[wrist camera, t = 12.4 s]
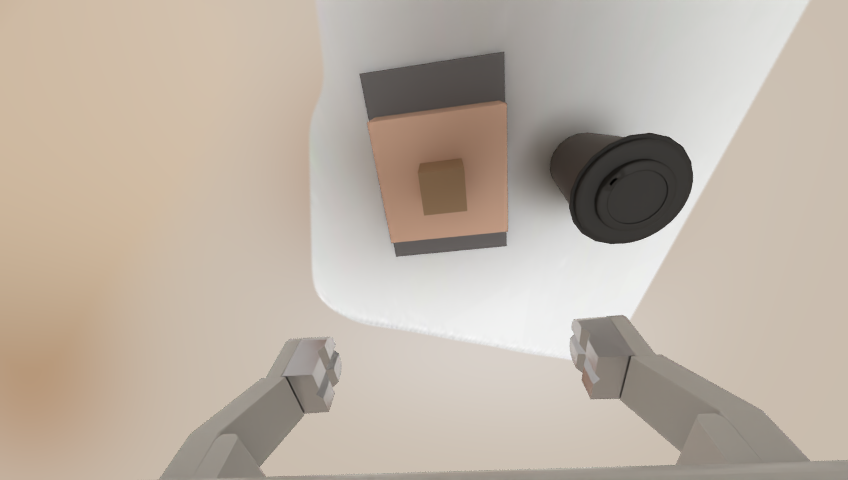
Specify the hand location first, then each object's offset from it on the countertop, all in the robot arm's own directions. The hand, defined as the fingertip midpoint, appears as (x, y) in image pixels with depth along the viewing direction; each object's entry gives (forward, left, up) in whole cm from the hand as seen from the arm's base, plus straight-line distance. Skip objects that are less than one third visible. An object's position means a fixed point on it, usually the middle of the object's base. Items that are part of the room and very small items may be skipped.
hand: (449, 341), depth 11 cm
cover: (0, 0, -19) cm, 19 cm away
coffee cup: (+1, +13, -23) cm, 26 cm away
